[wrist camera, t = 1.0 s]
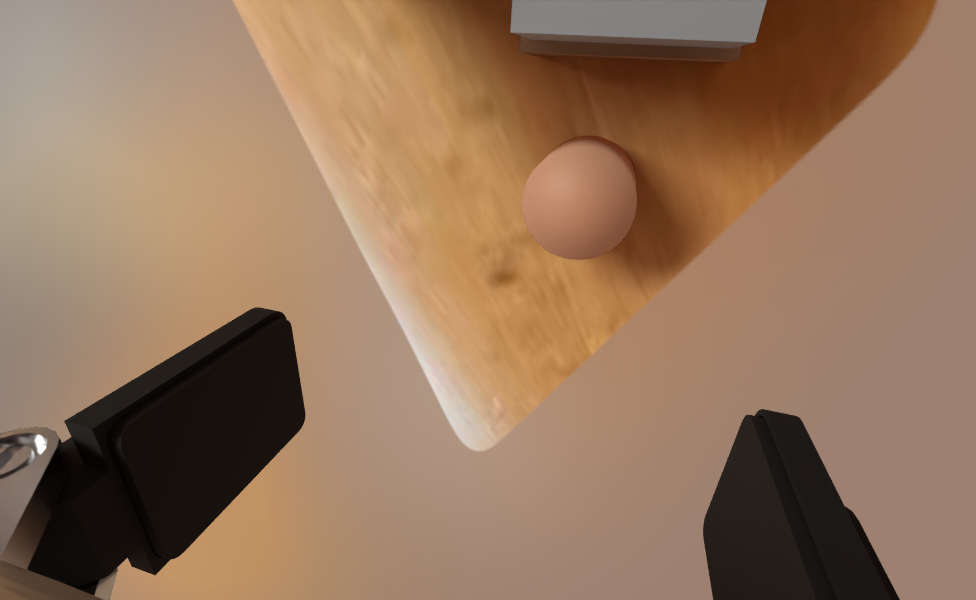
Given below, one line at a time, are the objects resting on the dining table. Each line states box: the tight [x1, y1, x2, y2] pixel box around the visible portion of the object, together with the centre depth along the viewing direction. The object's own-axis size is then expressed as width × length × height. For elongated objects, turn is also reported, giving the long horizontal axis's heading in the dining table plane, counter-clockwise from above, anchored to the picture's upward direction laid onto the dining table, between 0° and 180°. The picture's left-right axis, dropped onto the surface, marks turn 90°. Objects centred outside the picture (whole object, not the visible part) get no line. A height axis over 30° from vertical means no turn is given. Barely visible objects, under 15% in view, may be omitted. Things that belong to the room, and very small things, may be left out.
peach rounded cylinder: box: [522, 136, 637, 260], centre depth 26 cm, size 6×6×5 cm
